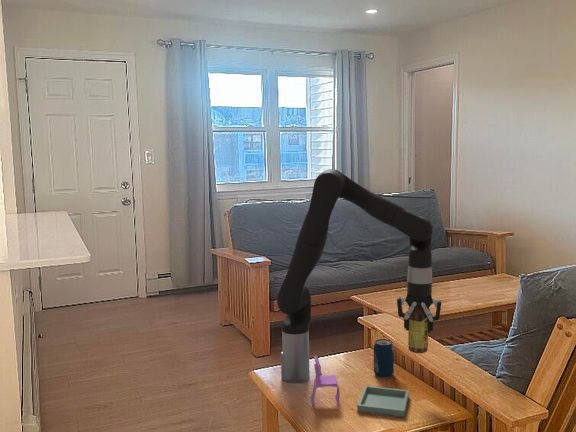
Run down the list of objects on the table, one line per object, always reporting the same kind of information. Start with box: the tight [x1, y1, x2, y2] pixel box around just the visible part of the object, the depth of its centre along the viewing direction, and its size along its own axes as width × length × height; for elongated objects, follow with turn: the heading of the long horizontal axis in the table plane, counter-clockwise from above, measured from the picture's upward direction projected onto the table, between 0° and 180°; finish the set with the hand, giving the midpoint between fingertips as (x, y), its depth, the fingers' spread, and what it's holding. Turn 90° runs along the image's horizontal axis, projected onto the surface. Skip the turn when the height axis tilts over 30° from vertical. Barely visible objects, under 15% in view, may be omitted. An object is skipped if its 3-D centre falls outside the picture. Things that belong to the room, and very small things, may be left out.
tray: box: [356, 385, 410, 419], centre depth 169 cm, size 14×14×2 cm
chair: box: [310, 355, 341, 408], centre depth 171 cm, size 8×9×15 cm
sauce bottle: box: [407, 297, 429, 354], centre depth 173 cm, size 7×6×20 cm
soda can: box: [373, 338, 395, 379], centre depth 190 cm, size 7×7×12 cm
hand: (418, 330), depth 173 cm, fingers closed on sauce bottle, 6 cm apart
